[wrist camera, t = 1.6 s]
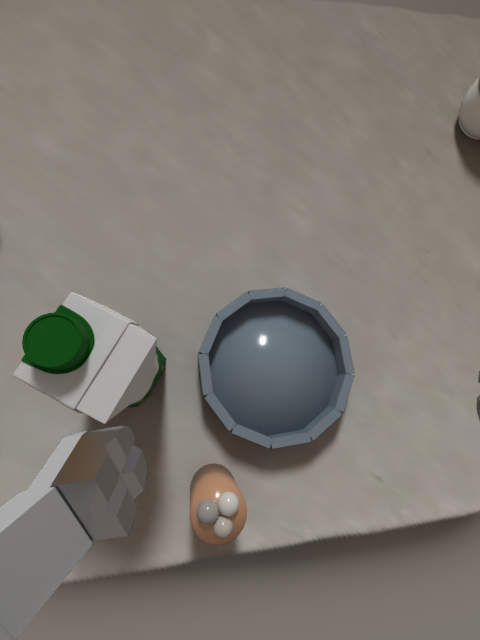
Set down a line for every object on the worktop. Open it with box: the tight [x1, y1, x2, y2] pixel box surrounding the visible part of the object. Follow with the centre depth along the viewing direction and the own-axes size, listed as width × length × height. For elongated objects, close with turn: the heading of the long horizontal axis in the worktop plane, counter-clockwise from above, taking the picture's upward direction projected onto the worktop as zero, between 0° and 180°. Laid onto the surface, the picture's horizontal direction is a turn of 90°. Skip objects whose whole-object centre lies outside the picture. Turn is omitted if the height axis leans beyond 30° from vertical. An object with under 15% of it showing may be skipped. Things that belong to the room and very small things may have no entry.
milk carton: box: [13, 292, 166, 424], centre depth 33 cm, size 9×9×20 cm
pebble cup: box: [190, 464, 247, 545], centre depth 37 cm, size 6×6×10 cm
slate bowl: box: [198, 287, 355, 449], centre depth 44 cm, size 20×20×4 cm
